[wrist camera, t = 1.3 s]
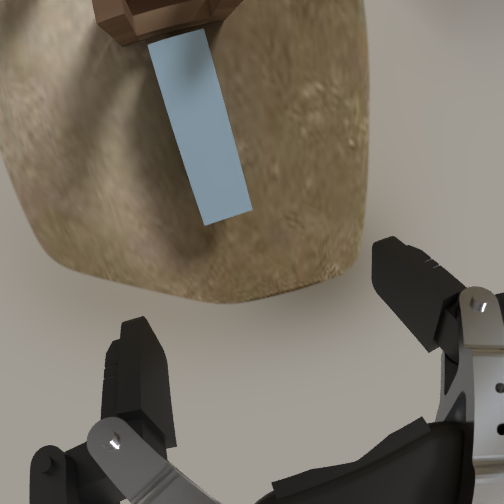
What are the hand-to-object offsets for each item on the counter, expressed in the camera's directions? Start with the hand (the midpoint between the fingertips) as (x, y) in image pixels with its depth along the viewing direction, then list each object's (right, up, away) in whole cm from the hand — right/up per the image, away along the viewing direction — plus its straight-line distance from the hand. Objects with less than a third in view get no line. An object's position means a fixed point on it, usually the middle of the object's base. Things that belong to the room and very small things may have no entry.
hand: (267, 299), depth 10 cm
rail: (-4, +10, +9) cm, 15 cm away
